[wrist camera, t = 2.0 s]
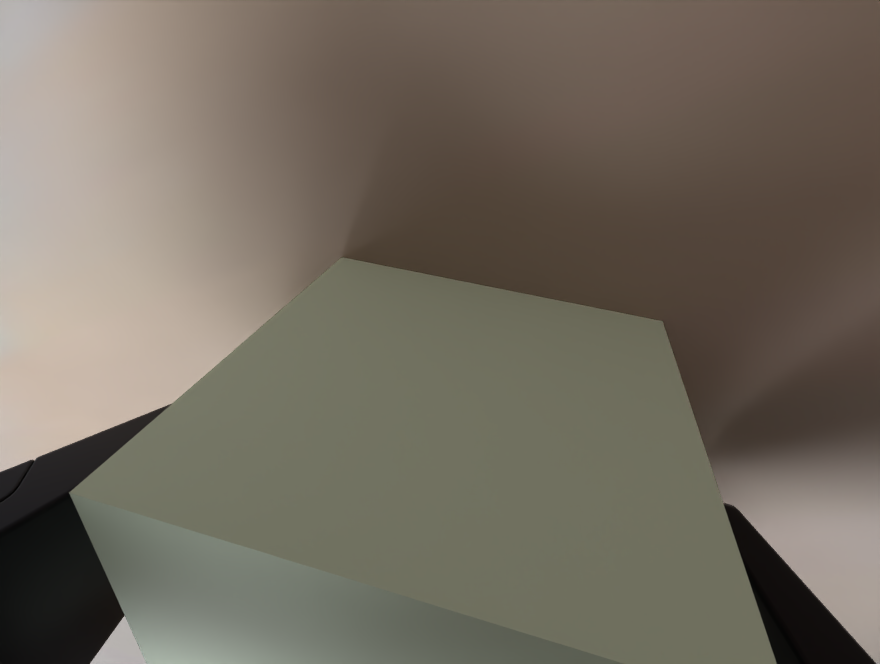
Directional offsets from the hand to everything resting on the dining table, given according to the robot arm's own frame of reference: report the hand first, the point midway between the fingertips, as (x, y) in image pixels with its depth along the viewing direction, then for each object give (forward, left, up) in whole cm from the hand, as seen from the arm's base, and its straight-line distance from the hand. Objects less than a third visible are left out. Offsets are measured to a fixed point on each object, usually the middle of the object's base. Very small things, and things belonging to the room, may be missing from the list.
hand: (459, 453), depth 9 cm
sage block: (0, 0, -1) cm, 1 cm away
